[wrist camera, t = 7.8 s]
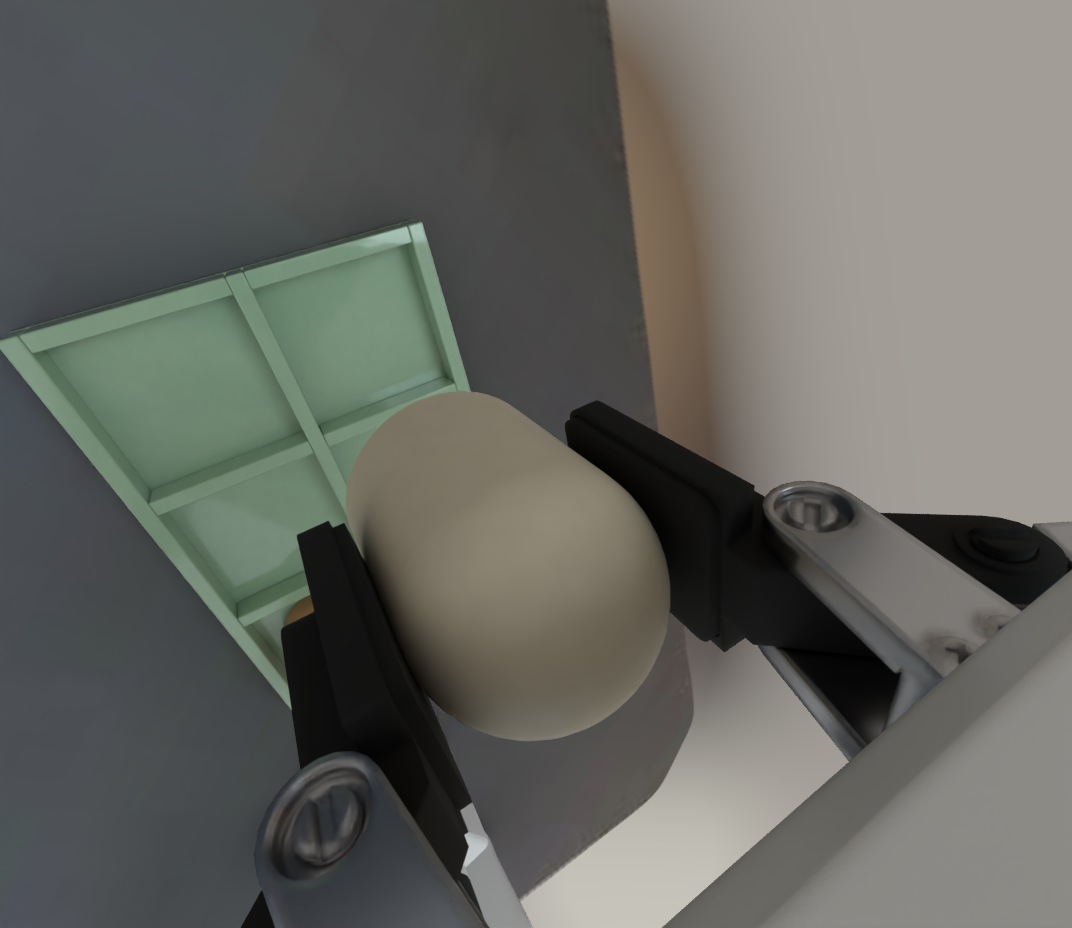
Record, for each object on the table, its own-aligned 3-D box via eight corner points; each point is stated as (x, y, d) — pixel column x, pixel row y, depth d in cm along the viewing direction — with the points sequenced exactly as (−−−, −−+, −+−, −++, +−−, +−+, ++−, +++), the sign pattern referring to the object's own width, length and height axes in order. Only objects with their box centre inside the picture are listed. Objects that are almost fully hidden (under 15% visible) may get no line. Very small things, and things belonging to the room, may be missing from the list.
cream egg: (390, 607, 12) (499, 866, 7) (306, 443, 9) (392, 678, 5) (555, 520, 13) (733, 693, 9) (519, 359, 11) (739, 479, 6)
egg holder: (292, 693, 28) (295, 715, 26) (9, 331, 16) (-8, 342, 15) (516, 572, 32) (527, 587, 31) (411, 219, 21) (422, 221, 19)
